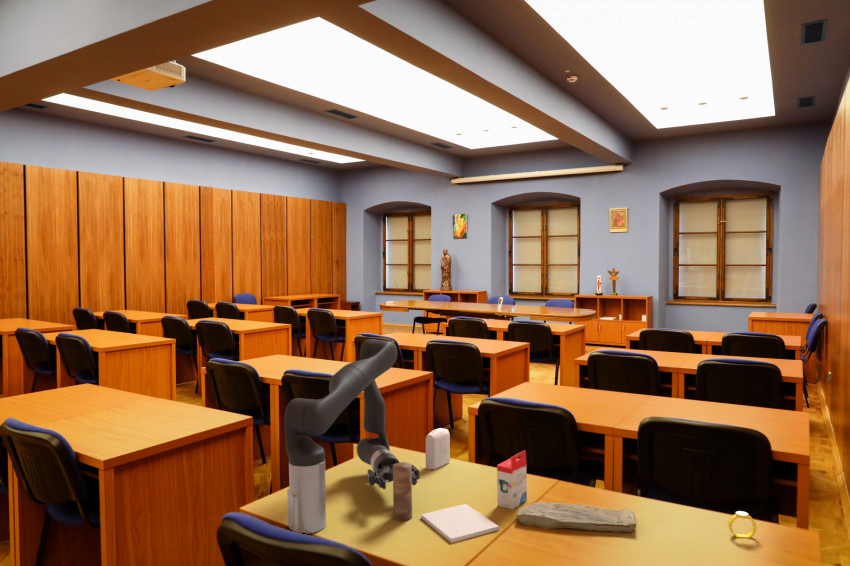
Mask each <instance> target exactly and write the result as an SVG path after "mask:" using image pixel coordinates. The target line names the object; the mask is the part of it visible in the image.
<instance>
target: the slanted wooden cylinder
mask: <svg viewBox="0 0 850 566" xmlns="http://www.w3.org/2000/svg"><path fill="white" fill-rule="evenodd" d="M399 462H400V461H399ZM411 465H412V463H410V462H405V461H404V462H402V461H401V462H400V463H396V464H394V465H393V481H392V494H393V495H392V496H393V497H392V499H393V508H392V509H393V519H394V520H396V521H399V522H406V521H410V520H411V519H413V488H412V487H413V485H412V466H411Z"/></svg>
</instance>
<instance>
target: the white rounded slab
mask: <svg viewBox="0 0 850 566" xmlns="http://www.w3.org/2000/svg"><path fill="white" fill-rule="evenodd" d="M450 434H451V433H450V432H449V429H447V428H442V427H439V428H436V429H435V428H434V429H433V430H432V431H430V432H429V433H428V434H427V435H426V436H425V467H426V468H427V470H431V469H433V470H436V469H439V468H441V467H442V466H445V465H447V464H449V463H450V462H451V456H450V455H451V452H450V451H451V450H450V448H451V447H450V446H451V445H450V444H451V443H450V441H451V439H450V438H451V436H450Z"/></svg>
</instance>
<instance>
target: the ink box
mask: <svg viewBox="0 0 850 566" xmlns="http://www.w3.org/2000/svg"><path fill="white" fill-rule="evenodd" d="M496 476H497V477H496V478H497V479H496V480H497V481H496V484H497V489H496V491H497V494H496V495H497V506H498V507H501V508H504V509H507V510H514V509H515V508H516V507H519V506H520V505H521V504H523V503H525V502H526V501H527V499H528V498H527V495H528V494H527V492H528V491H527V490H528V489H527V487H528V485H527V453H526V450H522V451H521V452H518V453H516V454H515V455H513V456H510V458H508V459H507V460H504V461H502V462H501V463H499V464H497V465H496Z"/></svg>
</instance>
